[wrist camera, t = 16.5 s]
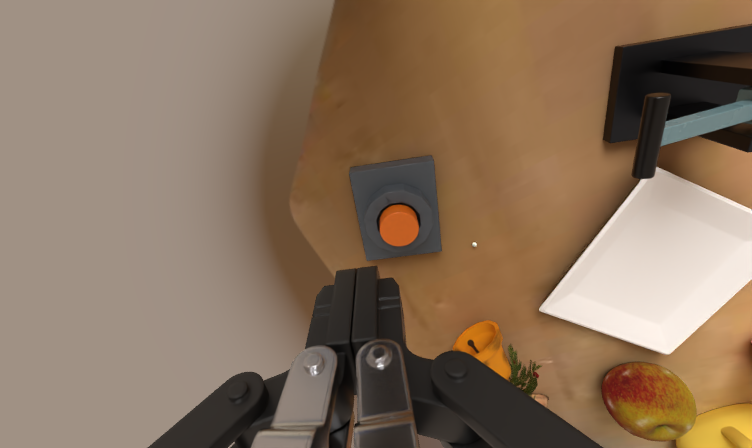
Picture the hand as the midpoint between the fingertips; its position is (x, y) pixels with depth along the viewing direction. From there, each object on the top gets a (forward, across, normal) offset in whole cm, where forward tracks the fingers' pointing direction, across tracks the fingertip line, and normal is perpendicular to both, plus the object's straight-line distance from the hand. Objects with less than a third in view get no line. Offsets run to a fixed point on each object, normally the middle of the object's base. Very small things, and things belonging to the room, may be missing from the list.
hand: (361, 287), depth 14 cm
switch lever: (+14, -22, 0) cm, 26 cm away
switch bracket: (+23, -27, 0) cm, 36 cm away
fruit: (+22, -29, +37) cm, 52 cm away
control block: (+23, -1, +8) cm, 25 cm away
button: (+20, -1, +8) cm, 22 cm away
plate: (+23, -28, +20) cm, 41 cm away
